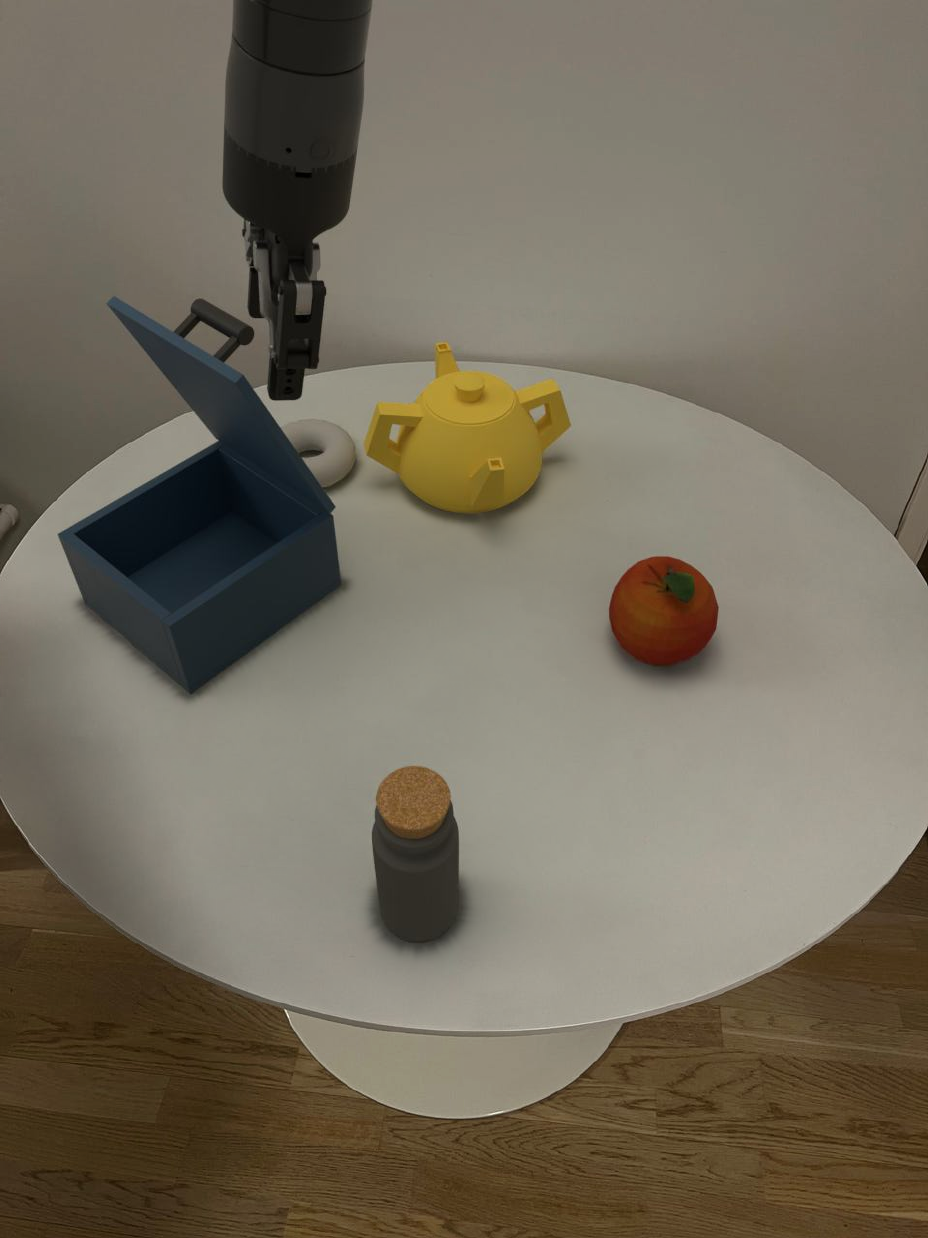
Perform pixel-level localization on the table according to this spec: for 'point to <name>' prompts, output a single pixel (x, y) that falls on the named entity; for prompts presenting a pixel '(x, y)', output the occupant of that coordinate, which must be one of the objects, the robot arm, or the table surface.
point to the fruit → (663, 611)
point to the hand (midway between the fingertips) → (273, 354)
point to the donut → (323, 448)
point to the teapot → (468, 437)
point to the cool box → (204, 562)
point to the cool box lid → (222, 392)
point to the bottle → (416, 854)
